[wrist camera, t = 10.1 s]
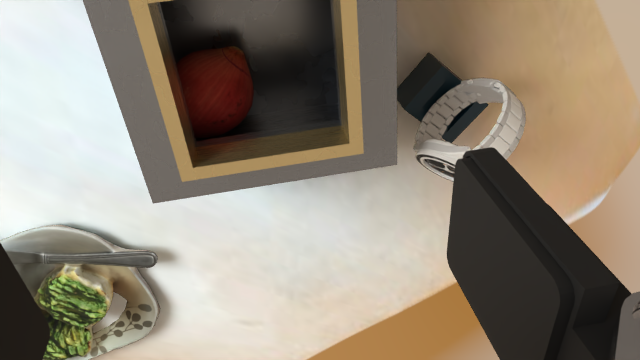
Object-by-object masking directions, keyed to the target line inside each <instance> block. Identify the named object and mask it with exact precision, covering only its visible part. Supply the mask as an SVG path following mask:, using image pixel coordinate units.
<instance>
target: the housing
mask: <svg viewBox="0 0 640 360" xmlns="http://www.w3.org/2000/svg"><path fill="white" fill-rule="evenodd" d="M83 2H84V5H85V8H86V11H87V14H88V17H89V20H90V23H91V26H92V28H93V31H94V34H95V37H96V40H97V43H98V46H99V49H100V52H101V55H102V57H103V60H104V63H105V66H106V69H107V72H108V75H109V78H110V81H111V83H112V86H113V89H114V92H115V95H116V98H117V101H118V104H119V107H120V109H121V112H122V115H123V118H124V121H125V124H126V127H127V130H128V133H129V135H130V138H131V141H132V144H133V147H134V150H135V153H136V156H137V159H138V161H139V164H140V167H141V170H142V173H143V176H144V179H145V182H146V185H147V187H148V190H149V193H150V196H151V199H152V202H153V203H159V202H165V201H171V200H177V199H184V198H190V197H196V196H203V195H209V194H215V193H221V192H228V191H234V190H240V189H246V188H253V187H259V186H265V185H272V184H278V183H284V182H290V181H297V180H303V179H309V178H315V177H322V176H328V175H334V174H341V173H347V172H353V171H359V170H366V169H372V168H378V167H385V166H391V165H397V0H83ZM228 46H235V47H238V48H239V49H241V50H242V51H243V53H244V55H245V58H246V62H247V65H248V68H249V71H250V74H251V78H252V82H253V89H254V96H253V103H252V107H251V109H250V110H249V112H248V114H247V116H246V117H245V118H244V119H243V120H242V121H241V123H240V124H239V125H237V126H236V127H234V128H233V129H231V130H230V131H228V132H226V133H223V134H221V135H218V136H214V137H208V138H195V134H194V131H193V127H192V123H191V119H190V115H189V112H188V108H187V104H186V100H185V96H184V92H183V89H182V85H181V81H180V77H179V73H178V70H177V66H176V64H177V63H178V62H179V60H180V59H181V58H183V57H185V56H186V55H188V54H190V53H191V52H195V51H200V50H204V49H218V48H225V47H228Z"/></svg>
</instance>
